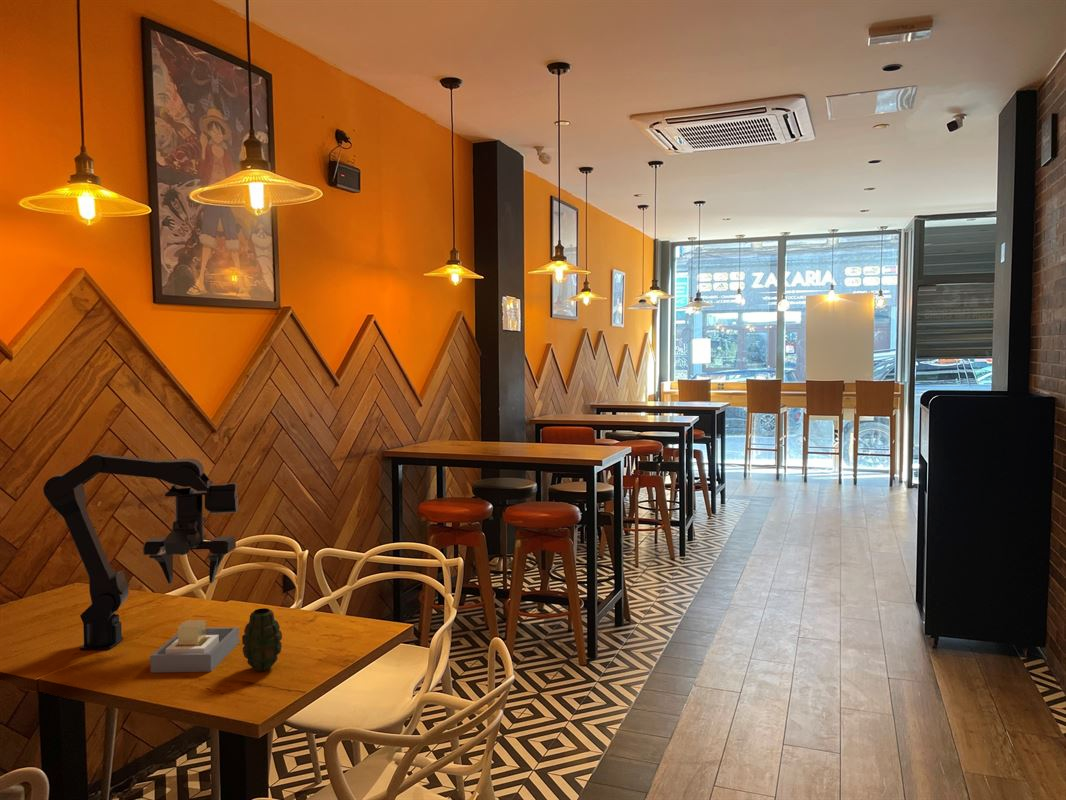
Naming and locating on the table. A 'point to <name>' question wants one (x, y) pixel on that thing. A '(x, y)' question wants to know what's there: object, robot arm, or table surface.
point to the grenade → (262, 640)
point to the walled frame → (195, 652)
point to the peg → (191, 633)
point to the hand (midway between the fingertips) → (190, 582)
